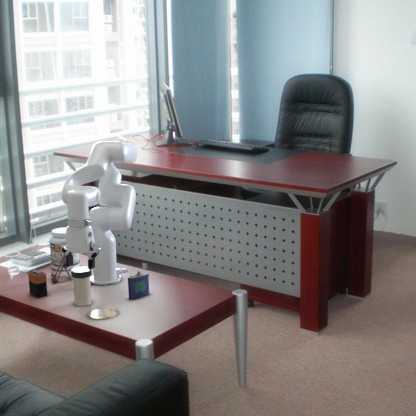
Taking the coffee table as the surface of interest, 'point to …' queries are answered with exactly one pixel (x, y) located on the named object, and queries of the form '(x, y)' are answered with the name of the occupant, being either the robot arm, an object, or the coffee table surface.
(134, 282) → the flask
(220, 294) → the coffee table surface
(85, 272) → the lid
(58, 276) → the tablet stand
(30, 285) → the battery
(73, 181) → the robot arm
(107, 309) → the coaster
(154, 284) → the coffee table surface
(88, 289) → the jar
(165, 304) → the coffee table surface
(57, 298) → the coffee table surface
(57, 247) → the supplement tub
